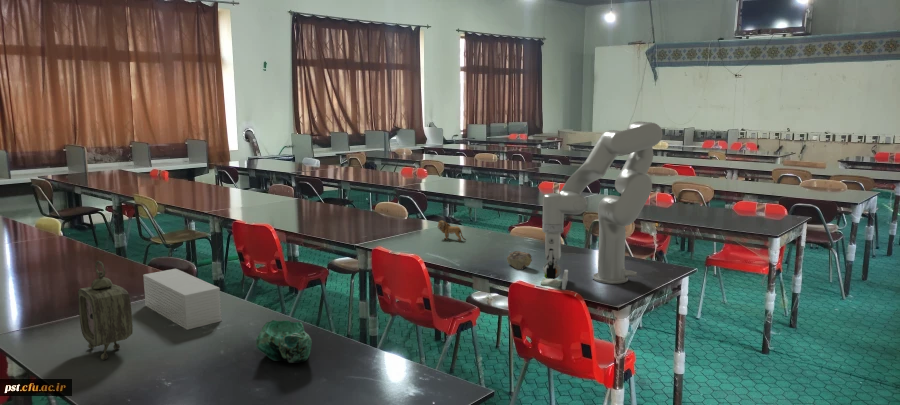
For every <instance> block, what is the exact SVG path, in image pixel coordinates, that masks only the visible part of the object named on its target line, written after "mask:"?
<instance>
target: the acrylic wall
mask: <svg viewBox="0 0 900 405" xmlns="http://www.w3.org/2000/svg"><path fill="white" fill-rule="evenodd" d="M563 271H564V272H563V275H562V278H561V280H562V282H561V290H564V291H565V290H566V288H567V285H568V280H569V270H568V269H564V270H563Z"/></svg>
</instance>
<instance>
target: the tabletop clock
mask: <svg viewBox="0 0 900 405" xmlns="http://www.w3.org/2000/svg"><path fill="white" fill-rule="evenodd" d="M98 264H99V265H100V267H101V269H102V271H101V270H100V271H99V270H98ZM94 267H95V272H96V274H97V276H98V277H97V278H95V279H94V280H92V282H91V285H90V286H87V287H83V288H79V289H77V302H78V306H77V307H78V315H79V323H80V329H81V330H80V331H81V334H82V336H83V338H84V340H85V341H86V342H88V345H87V347H88V348H89V349H90V350H91V349H94V348H95V347H100V346H104V347H103V348H104V349H103V353H101V355H100V359H101V360H107V359H108V356H109V355H108V354H107V351H108V347H109V346H110V345H111V344H113V346H112V347H113V349H114V350H116V351H117V350H119V349H120V348H121V345H120V344H119V343H117V342H120V341H124V340H127V339H128V338H129V337H130V336H131V335H133V330H134V329H133V327H134V326H133V312H132V305H131V297H130V294H129V292H128V291H127V289H125V288H124V287H122V286H120V285H117V284H113V282H112V280H111V279H110V278H108V277H106V269H105V266H104V263H103V262H102V261H100V260H97V261H96V262H95V264H94Z"/></svg>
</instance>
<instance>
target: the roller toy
mask: <svg viewBox="0 0 900 405" xmlns="http://www.w3.org/2000/svg"><path fill="white" fill-rule="evenodd" d="M553 263H554V262H553ZM555 268H556V278H555V279H558V278H559V276H560V275H561V272H562V270H561V266H560V265H559V264H558V263H557V264H556V263H555ZM542 271H543V274H544V278H545V279H547V262H546V263H545V264H544V265H543V267H542Z"/></svg>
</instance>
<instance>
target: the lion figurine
mask: <svg viewBox="0 0 900 405" xmlns="http://www.w3.org/2000/svg"><path fill="white" fill-rule="evenodd" d="M437 223H438V224H437V228H438V230H439V231H441V233H442V234H444V236H445V238H444V240H445V239H446V240H448V239H449V238H450V235H454V234H455V235H456V237H457V238H456V240H458V242H461V241H462V239H463V240H464V241H467V238H464V237H463V233H462V232H463V231H462V230H461V228H460V227H459V226H451V225H450V224H449V222H446V221H444V220H439V221H438V222H437Z"/></svg>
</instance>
